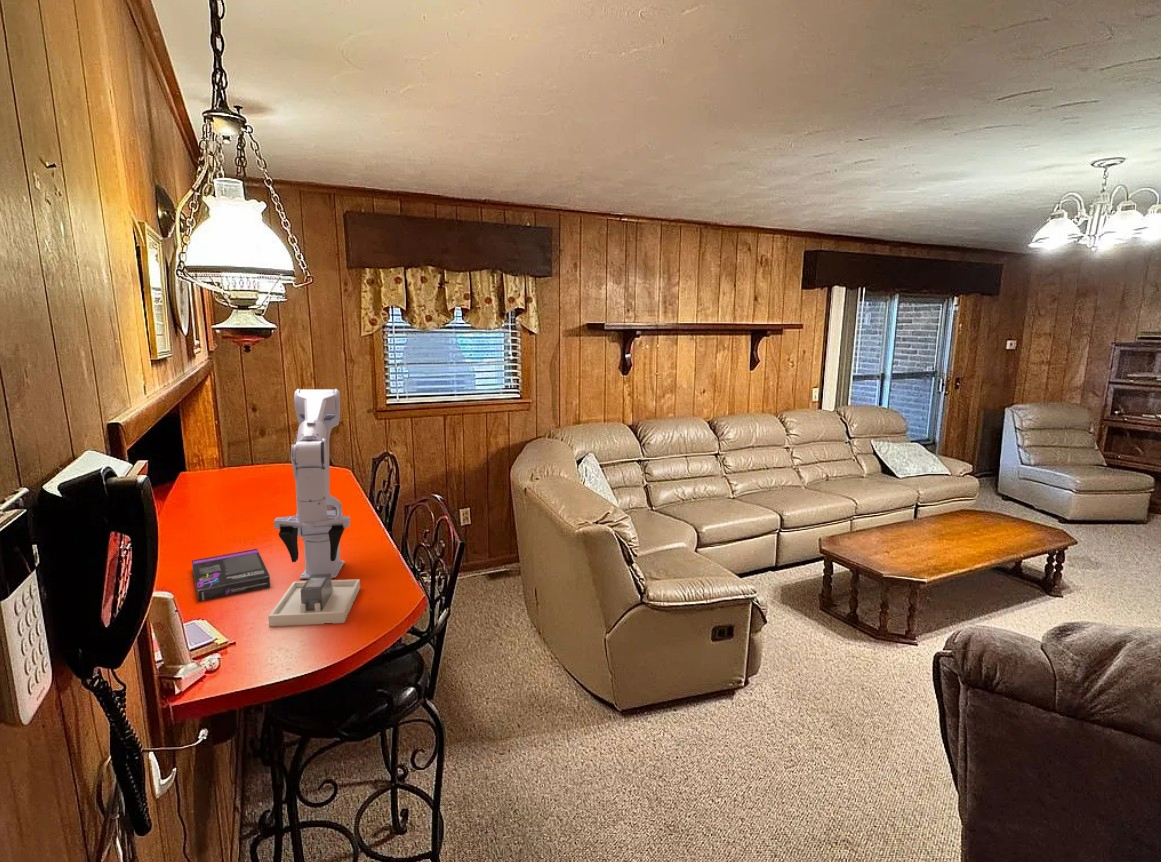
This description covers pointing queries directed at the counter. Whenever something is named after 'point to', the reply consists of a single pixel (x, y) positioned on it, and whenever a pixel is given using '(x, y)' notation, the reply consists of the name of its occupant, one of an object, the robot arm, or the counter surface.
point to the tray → (333, 612)
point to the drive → (316, 591)
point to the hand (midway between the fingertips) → (314, 559)
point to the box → (229, 574)
